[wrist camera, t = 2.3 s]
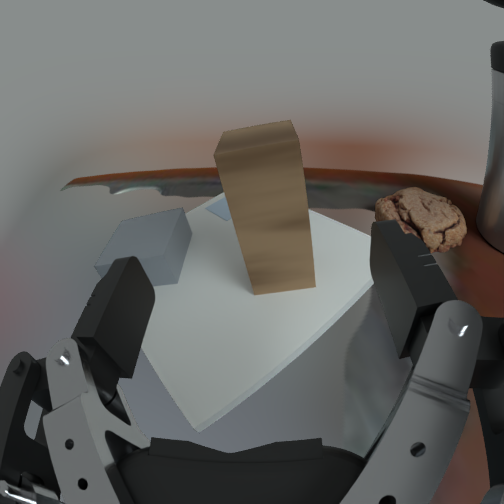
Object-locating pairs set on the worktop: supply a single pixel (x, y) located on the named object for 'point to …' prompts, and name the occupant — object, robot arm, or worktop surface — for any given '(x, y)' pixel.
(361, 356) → the worktop surface
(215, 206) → the base board
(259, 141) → the walnut pillar
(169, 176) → the worktop surface
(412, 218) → the cookie
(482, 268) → the worktop surface
